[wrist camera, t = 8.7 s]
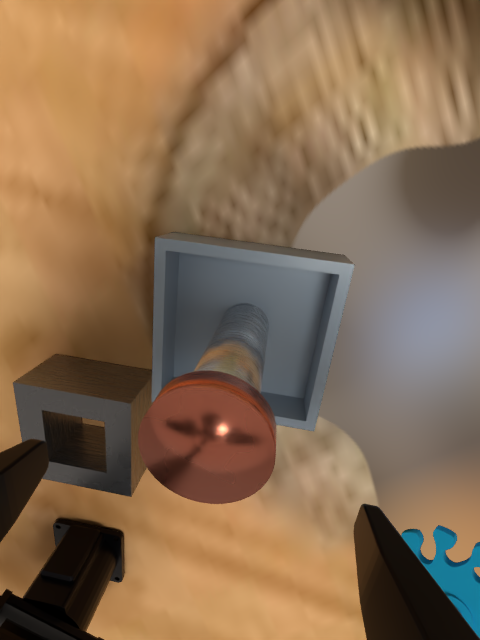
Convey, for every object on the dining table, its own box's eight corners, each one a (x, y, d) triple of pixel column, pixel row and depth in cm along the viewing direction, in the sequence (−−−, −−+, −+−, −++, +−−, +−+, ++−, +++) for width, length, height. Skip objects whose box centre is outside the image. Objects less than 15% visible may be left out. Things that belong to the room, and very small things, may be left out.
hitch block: (153, 454, 26) (131, 496, 22) (63, 436, 27) (27, 475, 23) (155, 371, 23) (130, 403, 19) (55, 353, 24) (12, 382, 20)
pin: (274, 362, 21) (264, 514, 11) (208, 351, 21) (137, 489, 11) (285, 297, 20) (286, 404, 9) (213, 287, 20) (137, 379, 10)
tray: (310, 402, 22) (314, 431, 20) (167, 378, 23) (151, 402, 20) (344, 255, 19) (354, 264, 16) (173, 232, 20) (154, 237, 17)
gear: (466, 509, 22) (614, 718, 17) (481, 489, 26) (603, 650, 21) (341, 558, 27) (424, 729, 22) (370, 534, 31) (446, 673, 26)
